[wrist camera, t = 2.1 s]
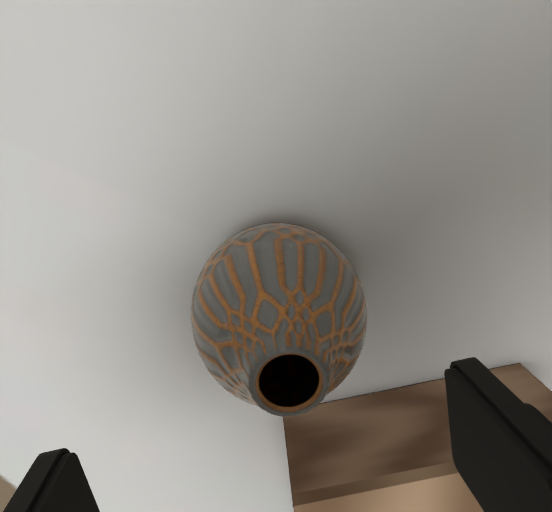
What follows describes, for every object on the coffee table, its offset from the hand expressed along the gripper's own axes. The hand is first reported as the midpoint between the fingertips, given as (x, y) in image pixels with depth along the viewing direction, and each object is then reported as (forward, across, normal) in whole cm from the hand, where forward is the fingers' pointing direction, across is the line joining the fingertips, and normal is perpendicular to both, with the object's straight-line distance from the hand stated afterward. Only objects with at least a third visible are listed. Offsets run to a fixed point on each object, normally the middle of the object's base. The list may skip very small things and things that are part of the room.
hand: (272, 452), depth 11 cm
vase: (+11, -1, -1) cm, 11 cm away
